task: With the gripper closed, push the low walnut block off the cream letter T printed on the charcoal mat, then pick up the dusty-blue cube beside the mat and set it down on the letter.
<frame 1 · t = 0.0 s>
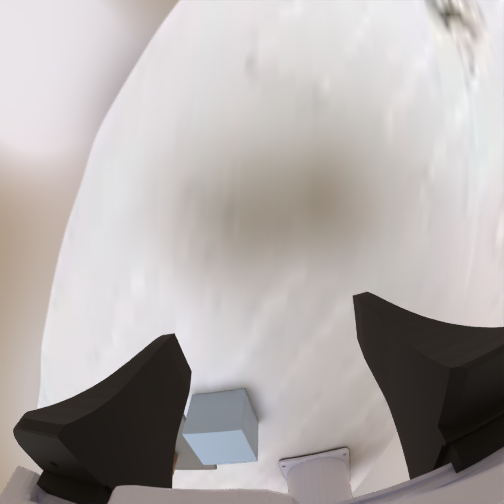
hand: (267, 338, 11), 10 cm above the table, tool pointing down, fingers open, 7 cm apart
letter mat: (145, 437, 28), on the table
blue cube: (226, 409, 26), on the table
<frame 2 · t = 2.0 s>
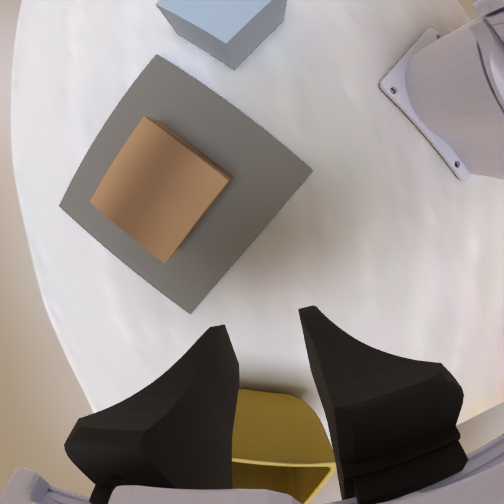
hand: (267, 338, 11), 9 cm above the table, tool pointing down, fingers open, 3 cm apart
letter mat: (170, 185, 19), on the table
flower pot: (261, 407, 25), on the table
walnut block: (168, 185, 19), resting on letter mat
blue cube: (229, 26, 16), on the table
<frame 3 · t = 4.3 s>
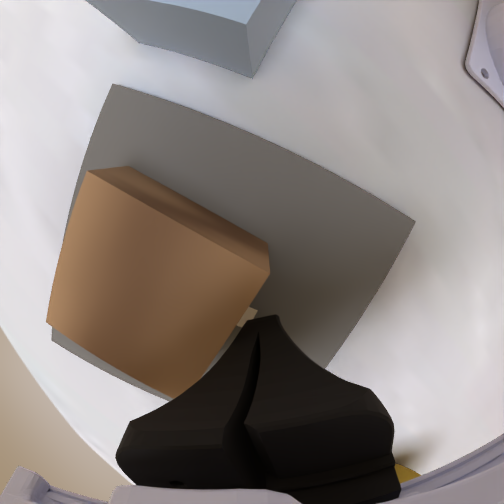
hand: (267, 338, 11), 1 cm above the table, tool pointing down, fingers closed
letter mat: (199, 292, 12), on the table
flower pot: (362, 480, 17), on the table
walnut block: (162, 270, 12), resting on letter mat, touching gripper
blue cube: (221, 8, 9), on the table
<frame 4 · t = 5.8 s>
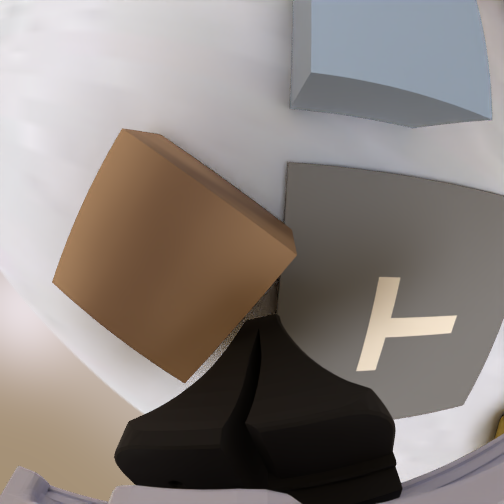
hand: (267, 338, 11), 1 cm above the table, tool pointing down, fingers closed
letter mat: (412, 322, 12), on the table
walnut block: (180, 244, 11), on the table, touching gripper
blue cube: (355, 58, 9), on the table
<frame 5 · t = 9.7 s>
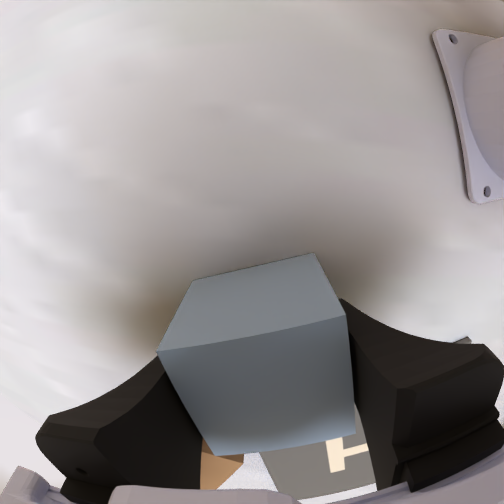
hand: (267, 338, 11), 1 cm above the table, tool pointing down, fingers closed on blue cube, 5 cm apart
letter mat: (365, 442, 15), on the table
walnut block: (181, 431, 16), on the table
blue cube: (266, 320, 13), on the table, touching gripper
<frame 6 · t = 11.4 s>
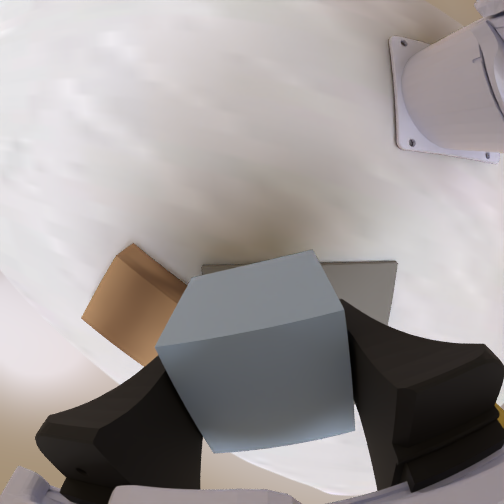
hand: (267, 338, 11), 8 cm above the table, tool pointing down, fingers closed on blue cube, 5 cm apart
letter mat: (299, 346, 21), on the table
walnut block: (147, 298, 21), on the table
blue cube: (265, 317, 13), point 7 cm above the table, touching gripper
when the fingers open (3 cm above the table, at t = 13.3 s): blue cube drops 1 cm, resting on letter mat.
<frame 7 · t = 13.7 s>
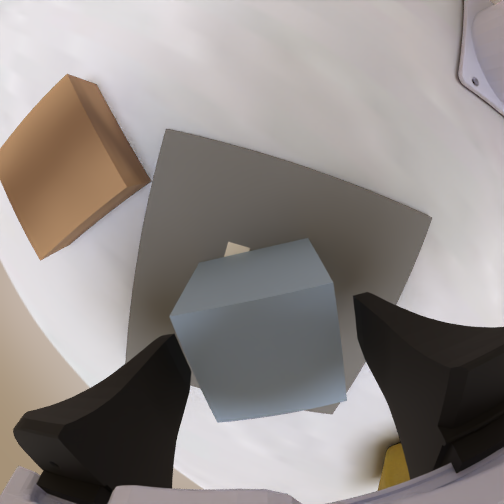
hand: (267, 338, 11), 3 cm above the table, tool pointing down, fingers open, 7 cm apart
letter mat: (266, 299, 15), on the table
flower pot: (411, 448, 19), on the table
walnut block: (81, 165, 13), on the table
blue cube: (265, 299, 14), resting on letter mat
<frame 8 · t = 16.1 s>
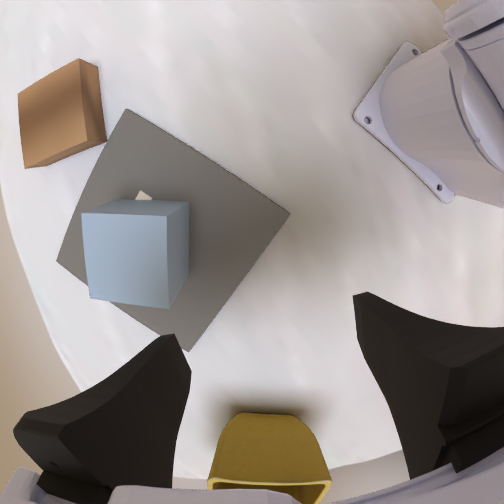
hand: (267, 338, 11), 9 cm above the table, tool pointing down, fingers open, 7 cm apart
letter mat: (155, 238, 20), on the table
flower pot: (264, 426, 26), on the table
walnut block: (71, 117, 18), on the table
blue cube: (153, 237, 20), resting on letter mat
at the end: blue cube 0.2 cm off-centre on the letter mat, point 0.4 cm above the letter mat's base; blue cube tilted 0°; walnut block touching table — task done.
